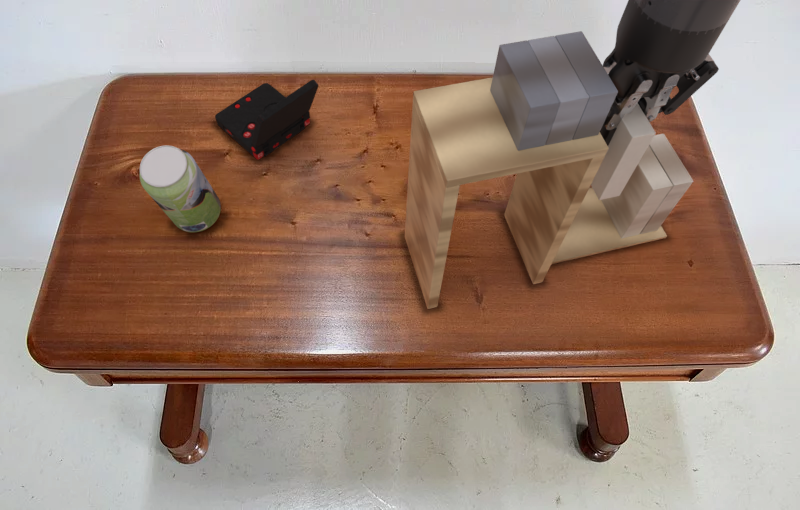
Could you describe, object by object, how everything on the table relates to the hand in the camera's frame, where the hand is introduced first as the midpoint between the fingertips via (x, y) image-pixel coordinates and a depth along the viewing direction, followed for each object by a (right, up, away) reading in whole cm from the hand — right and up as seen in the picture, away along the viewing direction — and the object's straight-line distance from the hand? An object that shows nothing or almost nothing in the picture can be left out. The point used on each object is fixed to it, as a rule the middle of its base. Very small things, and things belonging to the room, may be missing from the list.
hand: (611, 142), depth 61 cm
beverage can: (-46, -7, +13) cm, 49 cm away
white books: (+2, -7, +14) cm, 16 cm away
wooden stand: (-13, -12, +11) cm, 20 cm away
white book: (0, -2, +4) cm, 5 cm away
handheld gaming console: (-39, +5, +20) cm, 44 cm away
